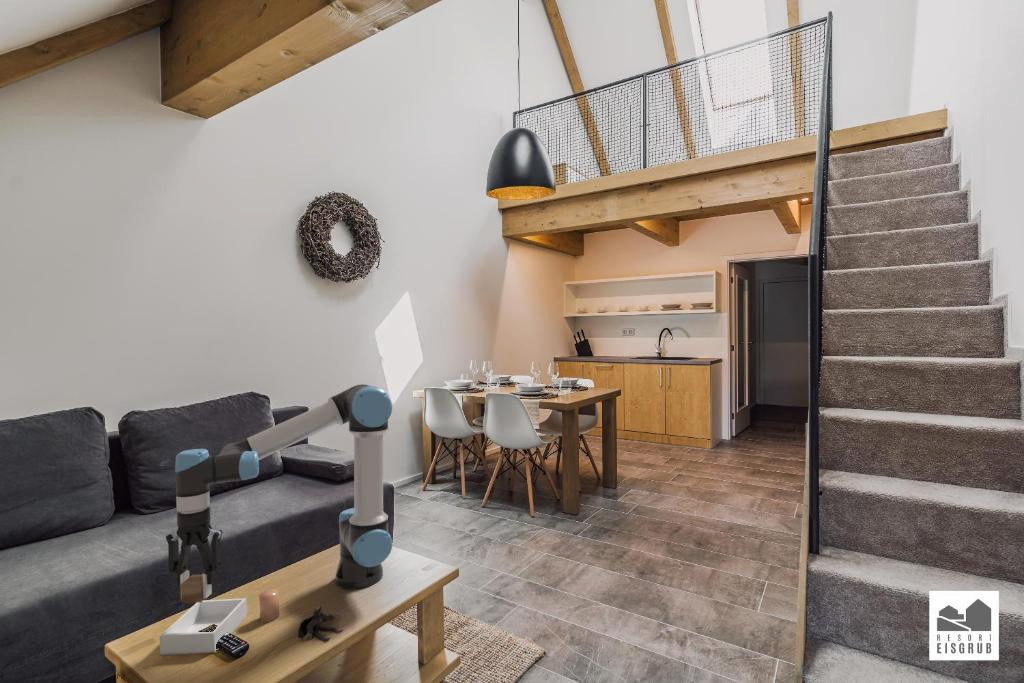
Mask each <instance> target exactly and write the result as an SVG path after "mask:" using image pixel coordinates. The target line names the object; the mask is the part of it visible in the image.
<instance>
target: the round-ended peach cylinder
mask: <svg viewBox="0 0 1024 683" xmlns="http://www.w3.org/2000/svg"><path fill="white" fill-rule="evenodd" d="M279 594H280V593H279V589H275V588H270V589H267V590H264V591H261V593H260V594H259V595H258V597H259V620H260V622H261V623H271V622H274V621H276V620H278V618H279V617H280V597H279Z"/></svg>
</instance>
